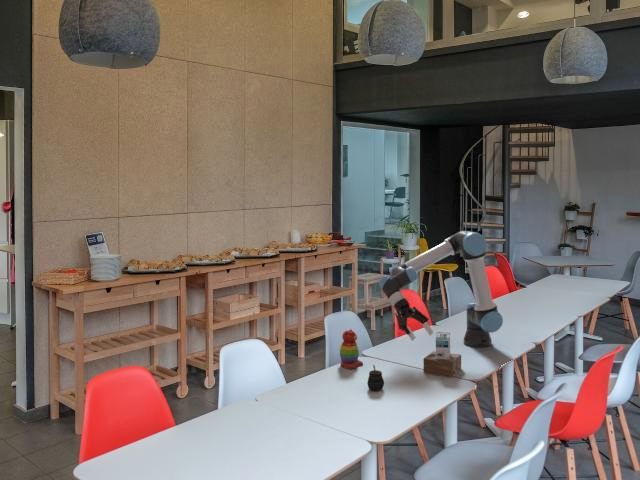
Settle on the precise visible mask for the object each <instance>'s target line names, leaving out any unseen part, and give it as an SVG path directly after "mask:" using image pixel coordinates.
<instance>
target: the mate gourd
mask: <svg viewBox="0 0 640 480" xmlns="http://www.w3.org/2000/svg"><path fill="white" fill-rule="evenodd" d="M366 384H367V388H368V389H369V390H370V391H371V392H380V391H381V390H382V389H383V388H384V385H385V381H384V378H383V371H381V370H379V369H378V370H377V369H376V366H375V365H374V364H373V370H369V372H368V378H367V383H366Z"/></svg>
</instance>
